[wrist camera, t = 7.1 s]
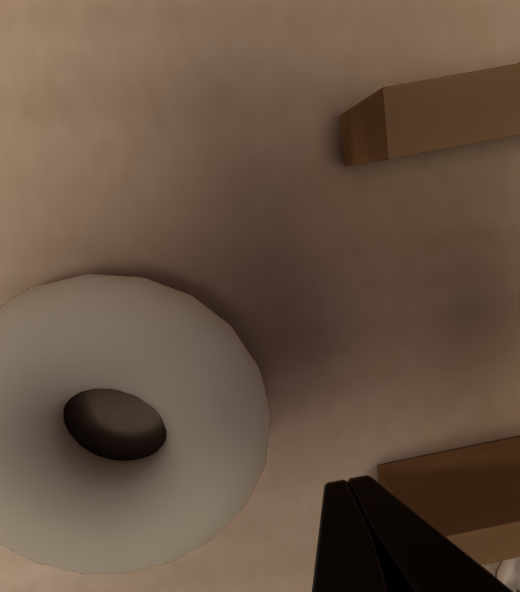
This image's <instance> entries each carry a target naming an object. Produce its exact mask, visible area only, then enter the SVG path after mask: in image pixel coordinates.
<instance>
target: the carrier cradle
mask: <svg viewBox="0 0 520 592" xmlns="http://www.w3.org/2000/svg"><path fill="white" fill-rule="evenodd" d="M340 124H341V133H342V143H343V152H344V161H345V166H351V165H356V164H362V163H368V162H374V161H379V160H385V159H391V158H396V157H402V156H407V155H413V154H418V153H423V152H429V151H434V150H440V149H445V148H451V147H456V146H461V145H467V144H472V143H478V142H483V141H489V140H494V139H499V138H505V137H510V136H516V135H520V63H518V64H513V65H507V66H502V67H496V68H490V69H485V70H479V71H474V72H468V73H462V74H457V75H451V76H446V77H440V78H435V79H429V80H423V81H418V82H412V83H407V84H401V85H395V86H390V87H384V88H382V89H380V90H379V91H377V92H376V93H374V94H372V95H371V96H369V97H368V98H366V99H365V100H363V101H362V102H360V103H358V104H357V105H355V106H354V107H352V108H351V109H349V110H348V111H346V112H344V113H343V114H341V115H340ZM378 473H379V482H380V484H381V485H382V486H383V487H385V488H386V489H387V490H388V491H390V492H391V493H392V494H393V495H394V496H396V497H397V498H398V499H399V500H401V501H402V502H403V503H404V504H406V505H407V506H408V507H409V508H411V509H412V510H413V511H414V512H415V513H417V514H418V515H419V516H420V517H422V518H423V519H424V520H425V521H427V522H428V523H429V524H430V525H432V526H433V527H434V528H435V529H437V530H438V531H439V532H440V533H441V534H443V535H444V536H445V537H446V538H448V539H449V540H450V541H451V542H453V543H454V544H455V545H456V546H458V547H459V548H460V549H461V550H462V551H464V552H465V553H466V554H467V555H469V556H470V557H471V558H472V559H474V560H475V561H476V562H477V563H479V564H480V565H485V564H490V563H495V562H499V561H504V560H509V559H513V558H518V557H520V437H515V438H510V439H505V440H500V441H495V442H490V443H485V444H480V445H476V446H471V447H466V448H461V449H456V450H451V451H446V452H441V453H437V454H432V455H427V456H422V457H417V458H412V459H407V460H402V461H397V462H393V463H388V464H383V465H378Z"/></svg>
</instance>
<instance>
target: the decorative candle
mask: <svg viewBox="0 0 520 592" xmlns="http://www.w3.org/2000/svg"><path fill="white" fill-rule="evenodd" d="M497 579H498V580H500V581H501V582H502V583H503V584H505V585H506V586H507V587H508V588H510V589H511V590H512V591H513V592H520V557H518V558H513V559H509V560H504V561H502V563H501V564H500V566H499V568H498V570H497Z"/></svg>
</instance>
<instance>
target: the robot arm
mask: <svg viewBox="0 0 520 592" xmlns="http://www.w3.org/2000/svg"><path fill="white" fill-rule="evenodd" d="M312 592H513V591H512V590H511V589H510V588H508V587H507V586H506V585H505V584H503V583H502V582H501V581H500V580H498V579H497V578H496V577H495V576H493V575H492V574H491V573H490V572H488V571H487V570H486V569H485V568H484V567H482V566H481V565H480V564H479V563H477V562H476V561H475V560H474V559H472V558H471V557H470V556H469V555H467V554H466V553H465V552H464V551H462V550H461V549H460V548H459V547H458V546H456V545H455V544H454V543H453V542H451V541H450V540H449V539H448V538H446V537H445V536H444V535H443V534H441V533H440V532H439V531H438V530H437V529H435V528H434V527H433V526H432V525H430V524H429V523H428V522H427V521H425V520H424V519H423V518H422V517H420V516H419V515H418V514H417V513H415V512H414V511H413V510H412V509H411V508H409V507H408V506H407V505H406V504H404V503H403V502H402V501H401V500H399V499H398V498H397V497H396V496H394V495H393V494H392V493H391V492H390V491H388V490H387V489H386V488H385V487H383V486H382V485H381V484H380V483H378V482H377V481H376V480H375V479H373V478H372V477H371V476H368V475H365V476H360V477H354V478H350V479H349V480H348V482H347V481H346V480H339V481H334V482H328V483H326V484H325V486H324V494H323V502H322V511H321V519H320V528H319V536H318V545H317V553H316V562H315V570H314V579H313V587H312Z"/></svg>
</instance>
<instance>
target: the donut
mask: <svg viewBox="0 0 520 592" xmlns="http://www.w3.org/2000/svg"><path fill="white" fill-rule="evenodd" d="M94 388H102V389H116V390H119V391H122V392H125V393H129V394H132V395H135V396H137V397H138V398H140V399H141V400H143V401H144V402H146V403H147V404H149V405H150V406H152V407H153V408H154V409H155V410H156V411H157V412H158V414H159V415H160V416H161V417H162V420H163V423H164V425H165V428H166V431H167V438H166V440H165V442H164V444H163V445H162V446H161V448H160V449H159V450H158V451H157V452H156V453H154V454H152V455H150V456H149V457H145V458H141V459H137V460H133V461H115V460H110V459H107V458H103V457H100V456H96V455H94V454H93V453H91V452H90V451H88V450H86V449H85V448H83V447H81V446H80V445H79V444H78V443H77V441H76V440H75V439H74V438H73V437H72V436H71V435H70V434H69V432H68V429H67V427H66V425H65V423H64V415H63V410H64V407H65V404H66V403H67V402H68V400H69V399H70V398H71V397H73V396H74V395H76V394H78V393H79V392H82V391H86V390H90V389H94ZM270 415H271V411H270V407H269V403H268V399H267V396H266V392H265V388H264V384H263V380H262V376H261V372H260V369H259V367H258V365H257V364H256V362H255V361H254V359H253V358H252V356H251V355H250V353H249V352H248V350H247V349H246V347H245V346H244V344H243V343H242V341H241V340H240V338H239V337H238V336H237V334H236V333H235V331H234V330H233V328H232V327H231V325H229V324H228V323H227V322H225V321H224V320H223V319H222V318H220V317H219V316H218V315H216V314H215V313H214V312H212V311H211V310H210V309H209V308H207V307H206V306H205V305H203V304H202V303H201V302H200V301H198V300H197V299H196V298H194V297H193V296H192V295H189V294H186V293H184V292H181V291H178V290H176V289H173V288H170V287H167V286H165V285H162V284H159V283H157V282H154V281H151V280H149V279H146V278H143V277H130V276H114V275H98V274H86V275H81V276H77V277H73V278H69V279H65V280H61V281H56V282H52V283H48V284H44V285H40V286H36V287H32V288H28V289H27V290H25V291H24V292H22V293H20V294H19V295H17V296H16V297H14V298H13V299H11V300H9V301H8V302H6V303H5V304H3V305H2V306H0V545H2V546H4V547H6V548H8V549H10V550H12V551H13V552H15V553H17V554H19V555H21V556H23V557H25V558H27V559H29V560H31V561H33V562H35V563H37V564H41V565H45V566H50V567H54V568H58V569H63V570H67V571H71V572H76V573H80V574H119V573H130V572H134V571H137V570H141V569H145V568H149V567H153V566H157V565H161V564H165V563H169V562H171V561H174V560H176V559H177V558H179V557H181V556H183V555H185V554H187V553H188V552H190V551H192V550H194V549H196V548H197V547H199V546H201V545H203V544H205V543H206V542H208V541H210V540H212V539H213V538H214V537H215V536H216V535H217V534H218V533H219V532H220V531H221V530H222V529H223V528H224V527H225V526H226V525H227V524H228V523H229V522H230V521H231V520H232V519H233V518H234V517H235V516H236V515H237V514H238V513H239V511H240V510H241V509H242V508H243V507H244V505H245V504H246V502H247V500H248V498H249V496H250V494H251V492H252V490H253V488H254V486H255V484H256V482H257V480H258V478H259V476H260V474H261V472H262V470H263V468H264V466H265V464H266V454H267V444H268V435H269V425H270Z"/></svg>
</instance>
